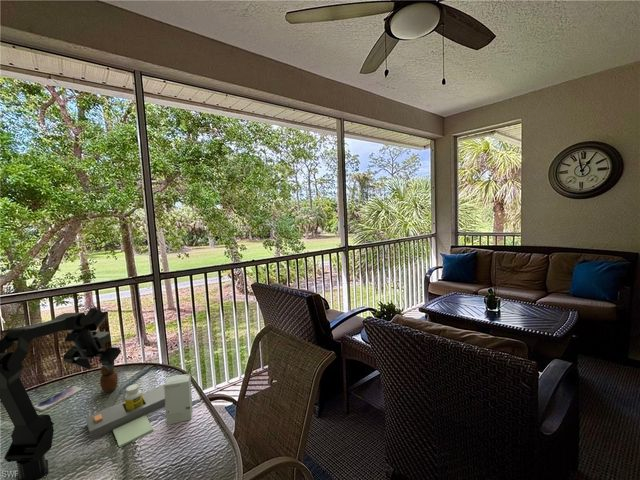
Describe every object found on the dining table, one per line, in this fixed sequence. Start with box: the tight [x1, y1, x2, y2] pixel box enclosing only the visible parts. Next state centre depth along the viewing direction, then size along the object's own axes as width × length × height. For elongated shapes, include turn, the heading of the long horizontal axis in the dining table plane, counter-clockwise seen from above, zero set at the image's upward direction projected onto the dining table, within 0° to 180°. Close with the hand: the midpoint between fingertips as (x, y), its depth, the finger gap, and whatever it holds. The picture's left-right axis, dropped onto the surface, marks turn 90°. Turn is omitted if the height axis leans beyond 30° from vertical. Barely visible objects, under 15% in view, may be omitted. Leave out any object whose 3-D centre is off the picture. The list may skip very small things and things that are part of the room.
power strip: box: [85, 384, 165, 440], centre depth 113 cm, size 28×10×4 cm, turn 134°
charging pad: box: [112, 414, 154, 448], centre depth 104 cm, size 10×10×1 cm
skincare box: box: [163, 373, 193, 426], centre depth 109 cm, size 8×6×15 cm
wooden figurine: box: [99, 365, 119, 393], centre depth 127 cm, size 7×6×15 cm
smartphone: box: [33, 385, 85, 413], centre depth 124 cm, size 7×1×15 cm
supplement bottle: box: [124, 383, 143, 413], centre depth 113 cm, size 5×5×10 cm
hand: (101, 369), depth 117 cm, fingers open, 9 cm apart
